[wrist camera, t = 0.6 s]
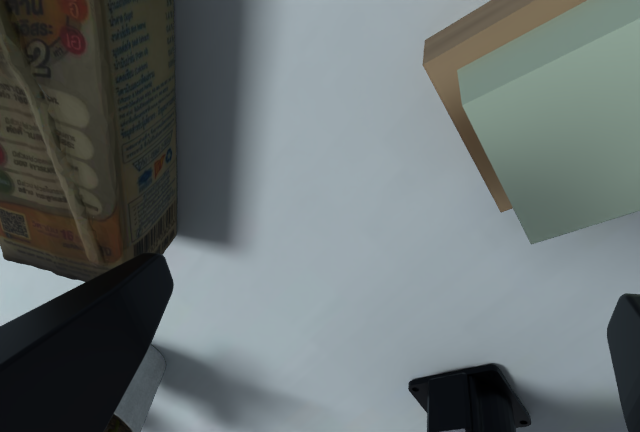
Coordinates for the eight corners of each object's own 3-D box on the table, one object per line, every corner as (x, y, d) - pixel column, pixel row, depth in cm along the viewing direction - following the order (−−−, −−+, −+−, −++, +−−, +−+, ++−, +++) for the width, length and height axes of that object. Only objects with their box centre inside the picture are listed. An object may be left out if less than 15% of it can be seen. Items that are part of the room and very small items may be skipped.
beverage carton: (185, -129, 17) (72, -148, 12) (186, 236, 28) (129, 310, 23) (0, -174, 17) (-189, -212, 12) (74, 203, 29) (-6, 268, 24)
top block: (681, 128, 15) (739, 179, 12) (515, 190, 17) (531, 244, 14) (638, -27, 12) (696, -11, 10) (457, 70, 15) (462, 105, 12)
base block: (659, 96, 18) (707, 136, 15) (490, 167, 21) (500, 212, 18) (607, -72, 15) (653, -69, 12) (425, 38, 18) (422, 65, 15)
